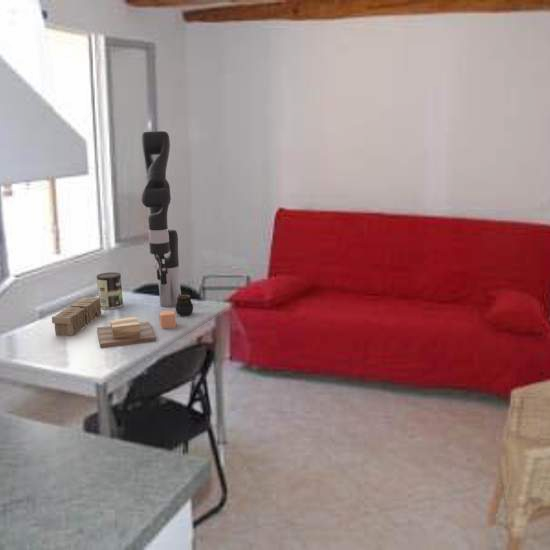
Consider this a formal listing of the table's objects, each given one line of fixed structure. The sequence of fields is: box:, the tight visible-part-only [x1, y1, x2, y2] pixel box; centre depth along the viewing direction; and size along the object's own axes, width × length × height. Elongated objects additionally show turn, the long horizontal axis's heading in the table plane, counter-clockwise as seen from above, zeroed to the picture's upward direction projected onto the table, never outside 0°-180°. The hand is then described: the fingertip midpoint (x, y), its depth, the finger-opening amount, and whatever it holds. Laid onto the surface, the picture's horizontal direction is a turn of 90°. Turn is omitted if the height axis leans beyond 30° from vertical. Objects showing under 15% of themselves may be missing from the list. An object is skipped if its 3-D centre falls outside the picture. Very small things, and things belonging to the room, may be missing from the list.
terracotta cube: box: [158, 309, 177, 330], centre depth 260 cm, size 6×6×6 cm
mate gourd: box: [175, 294, 194, 317], centre depth 273 cm, size 7×8×10 cm
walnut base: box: [96, 316, 157, 349], centre depth 250 cm, size 20×20×6 cm
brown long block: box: [51, 296, 102, 336], centre depth 265 cm, size 8×8×29 cm
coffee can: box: [96, 271, 124, 310], centre depth 289 cm, size 10×10×14 cm
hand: (162, 281), depth 255 cm, fingers open, 8 cm apart
